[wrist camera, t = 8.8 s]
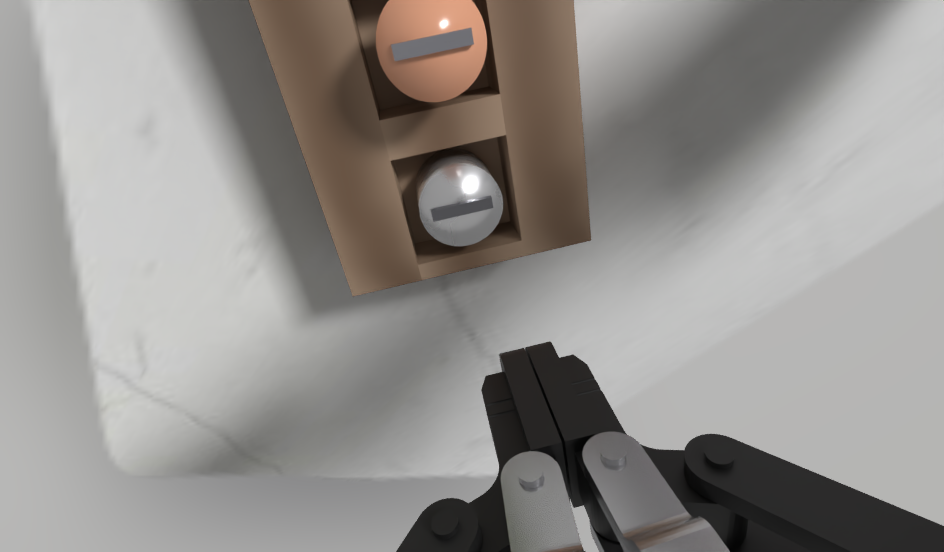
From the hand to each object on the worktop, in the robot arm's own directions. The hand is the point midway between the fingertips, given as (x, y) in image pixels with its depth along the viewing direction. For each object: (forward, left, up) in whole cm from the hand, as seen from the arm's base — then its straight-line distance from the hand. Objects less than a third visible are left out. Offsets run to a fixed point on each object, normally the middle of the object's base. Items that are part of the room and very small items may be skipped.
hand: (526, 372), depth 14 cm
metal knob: (0, 0, -17) cm, 17 cm away
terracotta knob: (0, -8, -14) cm, 17 cm away
